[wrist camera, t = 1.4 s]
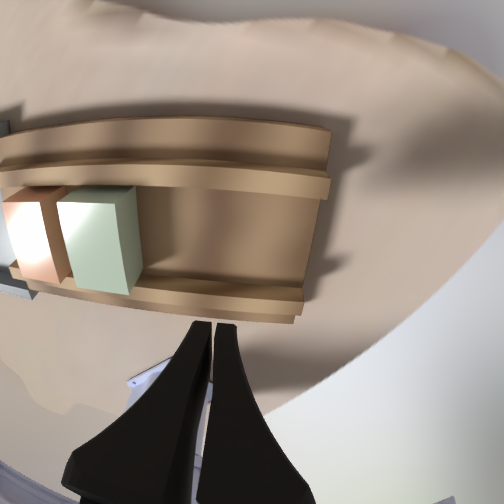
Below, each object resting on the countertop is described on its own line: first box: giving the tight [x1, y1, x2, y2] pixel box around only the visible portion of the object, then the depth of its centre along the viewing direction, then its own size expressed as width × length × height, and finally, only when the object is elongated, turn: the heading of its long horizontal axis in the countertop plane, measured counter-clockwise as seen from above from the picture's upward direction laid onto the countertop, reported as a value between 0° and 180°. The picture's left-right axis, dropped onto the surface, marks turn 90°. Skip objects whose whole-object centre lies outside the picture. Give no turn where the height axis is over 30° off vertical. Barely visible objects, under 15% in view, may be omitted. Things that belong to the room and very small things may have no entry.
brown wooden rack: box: [0, 116, 332, 324], centre depth 18 cm, size 24×14×4 cm, turn 85°
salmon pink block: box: [1, 185, 72, 284], centre depth 16 cm, size 4×6×3 cm, turn 175°
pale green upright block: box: [57, 185, 144, 295], centre depth 16 cm, size 4×6×3 cm, turn 175°
